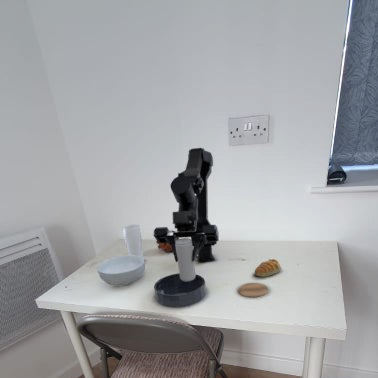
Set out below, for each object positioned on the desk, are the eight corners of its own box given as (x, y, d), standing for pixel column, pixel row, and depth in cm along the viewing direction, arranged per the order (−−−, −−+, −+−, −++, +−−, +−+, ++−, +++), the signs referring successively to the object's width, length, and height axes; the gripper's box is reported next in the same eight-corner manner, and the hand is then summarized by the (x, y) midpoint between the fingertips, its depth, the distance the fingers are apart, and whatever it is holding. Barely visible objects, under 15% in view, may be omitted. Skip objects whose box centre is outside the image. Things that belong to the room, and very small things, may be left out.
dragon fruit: (182, 256, 139) (160, 257, 146) (187, 239, 142) (165, 241, 149) (171, 244, 133) (149, 246, 139) (177, 227, 136) (155, 230, 142)
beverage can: (197, 275, 100) (193, 237, 94) (194, 282, 96) (189, 243, 90) (182, 275, 101) (177, 238, 95) (178, 282, 97) (173, 244, 91)
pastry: (264, 280, 108) (264, 269, 106) (249, 274, 113) (249, 264, 111) (282, 270, 113) (283, 260, 111) (267, 266, 117) (267, 256, 116)
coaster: (235, 286, 106) (235, 285, 106) (261, 282, 107) (261, 281, 107) (243, 299, 98) (243, 298, 98) (272, 294, 99) (272, 293, 99)
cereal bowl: (92, 289, 116) (86, 271, 112) (117, 270, 129) (113, 253, 125) (133, 293, 109) (128, 274, 106) (155, 273, 123) (152, 255, 119)
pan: (154, 287, 112) (152, 277, 110) (200, 280, 113) (199, 269, 111) (157, 311, 97) (155, 299, 95) (210, 302, 99) (209, 290, 97)
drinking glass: (126, 265, 133) (118, 229, 126) (134, 258, 138) (127, 223, 131) (140, 266, 130) (133, 229, 123) (148, 259, 136) (142, 224, 128)
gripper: (149, 200, 93) (144, 251, 89) (214, 195, 88) (212, 249, 85) (161, 219, 103) (157, 265, 99) (219, 216, 99) (217, 264, 95)
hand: (184, 261), depth 94 cm, fingers closed on beverage can, 5 cm apart
